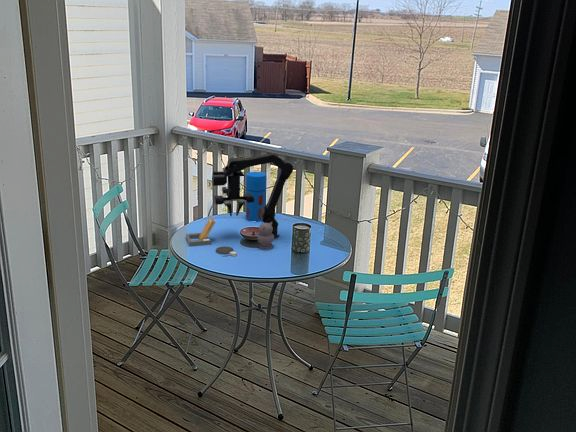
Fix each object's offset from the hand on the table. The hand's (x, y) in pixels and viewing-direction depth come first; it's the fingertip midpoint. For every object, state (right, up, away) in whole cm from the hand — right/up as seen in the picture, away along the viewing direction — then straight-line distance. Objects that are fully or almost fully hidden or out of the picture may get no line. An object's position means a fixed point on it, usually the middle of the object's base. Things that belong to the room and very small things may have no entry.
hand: (233, 215), depth 269 cm
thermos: (+9, -2, +33) cm, 34 cm away
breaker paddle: (-16, -12, -2) cm, 20 cm away
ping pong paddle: (-2, -17, -13) cm, 22 cm away
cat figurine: (+15, -15, -4) cm, 22 cm away
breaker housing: (-17, -13, -2) cm, 21 cm away
